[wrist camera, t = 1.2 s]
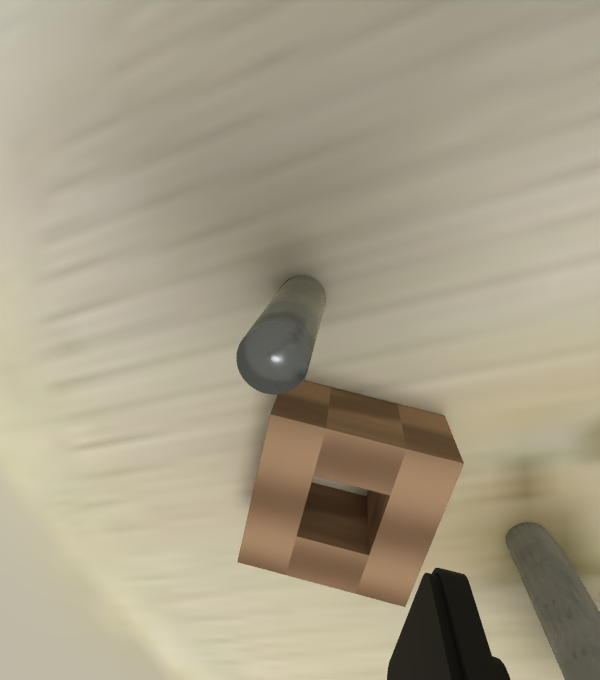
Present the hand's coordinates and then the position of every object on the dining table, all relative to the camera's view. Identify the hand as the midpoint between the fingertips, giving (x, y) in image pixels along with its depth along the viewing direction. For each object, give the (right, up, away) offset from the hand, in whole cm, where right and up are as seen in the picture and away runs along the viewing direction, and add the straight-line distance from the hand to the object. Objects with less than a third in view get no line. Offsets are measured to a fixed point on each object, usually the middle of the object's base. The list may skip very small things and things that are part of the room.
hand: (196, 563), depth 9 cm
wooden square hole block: (+6, -5, +25) cm, 26 cm away
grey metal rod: (+2, +8, +21) cm, 23 cm away
